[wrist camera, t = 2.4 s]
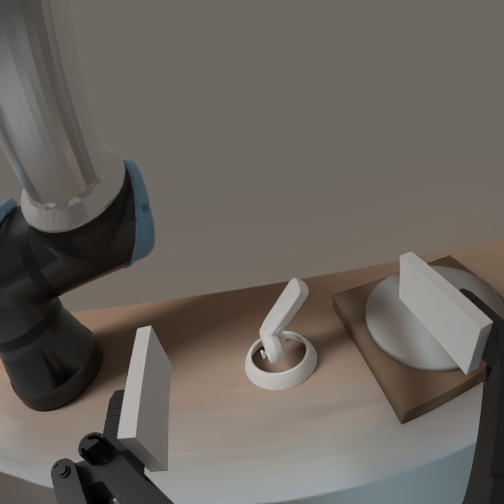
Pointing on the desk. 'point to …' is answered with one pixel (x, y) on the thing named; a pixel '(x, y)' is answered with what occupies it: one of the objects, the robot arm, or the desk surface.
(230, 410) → the desk surface
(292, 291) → the white vr controller
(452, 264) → the rosette stand
